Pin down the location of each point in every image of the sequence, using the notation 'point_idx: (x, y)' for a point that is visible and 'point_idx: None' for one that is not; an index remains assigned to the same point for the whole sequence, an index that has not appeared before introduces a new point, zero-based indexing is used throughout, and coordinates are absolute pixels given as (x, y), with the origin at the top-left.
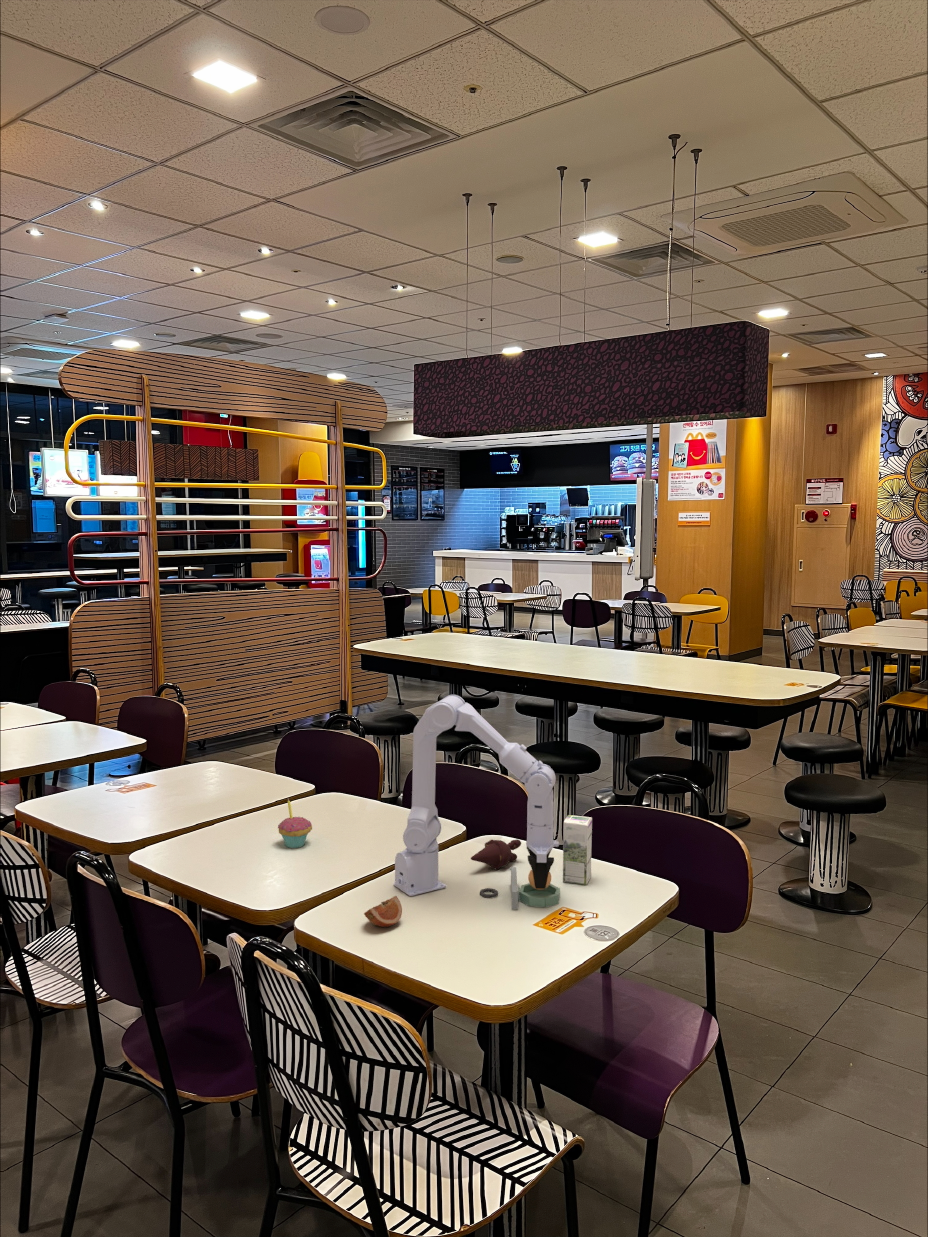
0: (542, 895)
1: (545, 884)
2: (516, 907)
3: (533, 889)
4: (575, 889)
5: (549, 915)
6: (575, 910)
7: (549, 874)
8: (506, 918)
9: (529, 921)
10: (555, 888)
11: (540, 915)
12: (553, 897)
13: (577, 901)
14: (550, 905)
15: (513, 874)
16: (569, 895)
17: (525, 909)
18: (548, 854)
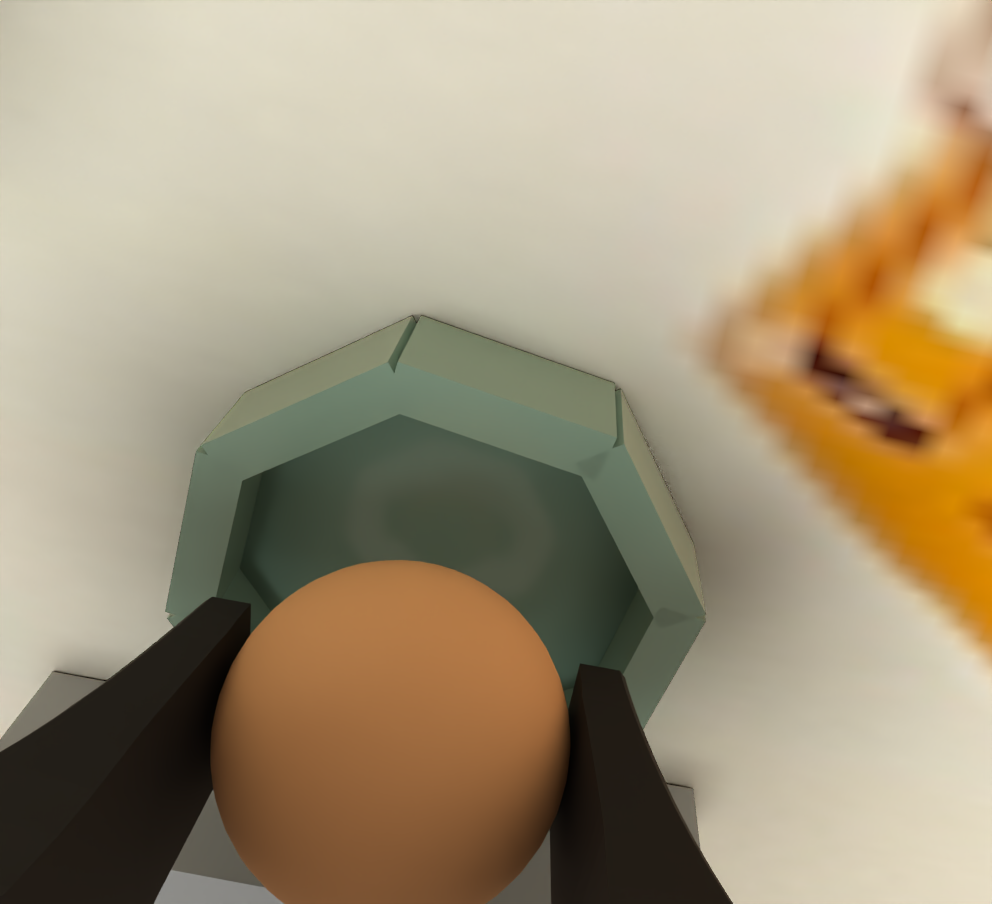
0: (416, 534)
1: (636, 717)
2: (691, 816)
3: (250, 590)
4: (124, 11)
5: (911, 552)
6: (868, 211)
7: (456, 698)
8: (846, 891)
9: (985, 753)
10: (378, 420)
11: (879, 634)
12: (653, 502)
13: (568, 98)
14: (666, 491)
15: (173, 895)
16: (347, 164)
17: (688, 724)
18: (24, 883)
